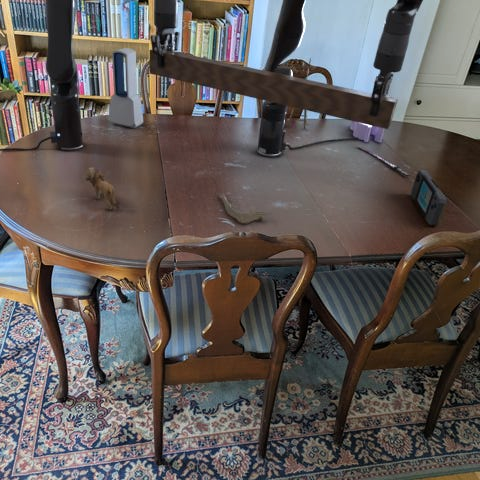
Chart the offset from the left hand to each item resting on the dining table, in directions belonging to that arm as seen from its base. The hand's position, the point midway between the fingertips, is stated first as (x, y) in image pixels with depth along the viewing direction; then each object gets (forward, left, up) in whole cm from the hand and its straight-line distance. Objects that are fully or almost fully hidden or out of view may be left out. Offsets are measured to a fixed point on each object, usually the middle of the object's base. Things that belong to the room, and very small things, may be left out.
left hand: (165, 66), depth 157 cm
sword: (+85, -20, -32) cm, 93 cm away
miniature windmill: (+69, +24, -32) cm, 80 cm away
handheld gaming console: (+73, -58, -32) cm, 99 cm away
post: (+24, -27, -3) cm, 36 cm away
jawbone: (+14, -45, -32) cm, 57 cm away
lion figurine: (-27, -31, -32) cm, 52 cm away
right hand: (+48, -53, 0) cm, 72 cm away
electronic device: (-8, +35, -32) cm, 48 cm away
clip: (+96, +9, -32) cm, 102 cm away
